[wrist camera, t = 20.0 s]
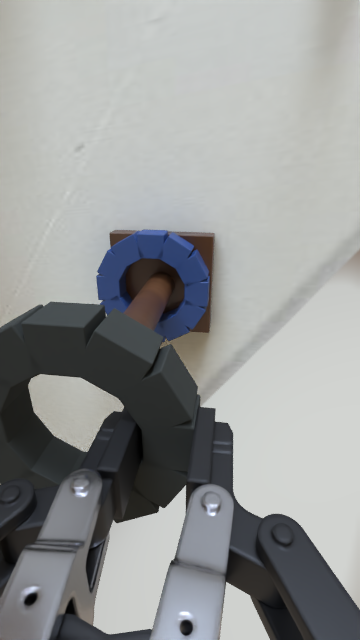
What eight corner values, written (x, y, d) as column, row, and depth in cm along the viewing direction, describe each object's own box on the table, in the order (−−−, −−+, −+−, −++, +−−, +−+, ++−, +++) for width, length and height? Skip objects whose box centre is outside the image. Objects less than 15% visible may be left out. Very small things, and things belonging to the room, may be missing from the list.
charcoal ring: (12, 470, 17) (-14, 505, 15) (-37, 296, 13) (-79, 315, 12) (197, 495, 16) (192, 536, 14) (203, 310, 12) (197, 334, 10)
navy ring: (109, 328, 33) (101, 337, 31) (100, 227, 29) (91, 231, 27) (206, 335, 32) (205, 345, 30) (212, 232, 28) (211, 236, 26)
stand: (121, 320, 34) (66, 395, 23) (114, 229, 30) (44, 266, 19) (210, 326, 33) (198, 408, 22) (214, 232, 29) (203, 273, 18)
